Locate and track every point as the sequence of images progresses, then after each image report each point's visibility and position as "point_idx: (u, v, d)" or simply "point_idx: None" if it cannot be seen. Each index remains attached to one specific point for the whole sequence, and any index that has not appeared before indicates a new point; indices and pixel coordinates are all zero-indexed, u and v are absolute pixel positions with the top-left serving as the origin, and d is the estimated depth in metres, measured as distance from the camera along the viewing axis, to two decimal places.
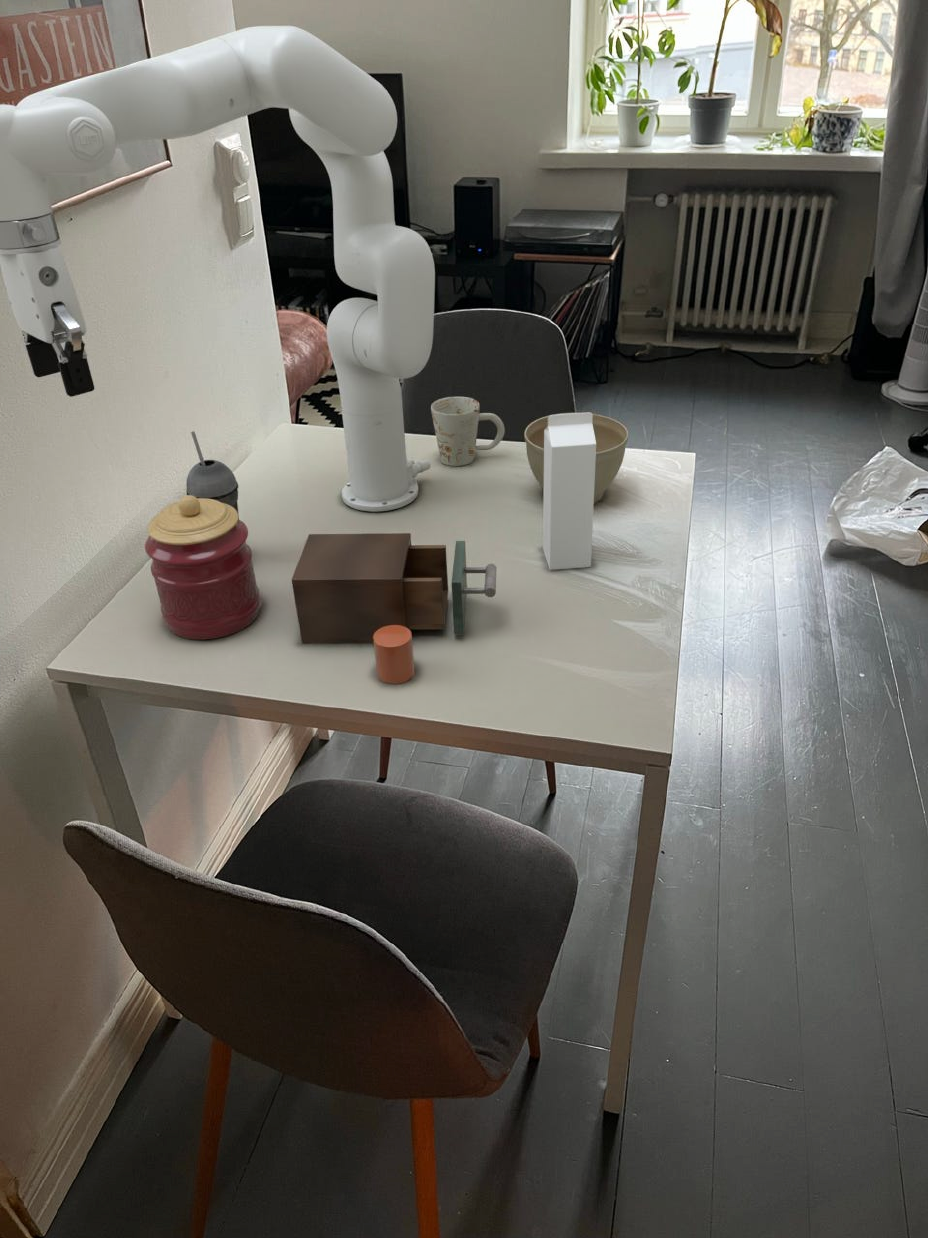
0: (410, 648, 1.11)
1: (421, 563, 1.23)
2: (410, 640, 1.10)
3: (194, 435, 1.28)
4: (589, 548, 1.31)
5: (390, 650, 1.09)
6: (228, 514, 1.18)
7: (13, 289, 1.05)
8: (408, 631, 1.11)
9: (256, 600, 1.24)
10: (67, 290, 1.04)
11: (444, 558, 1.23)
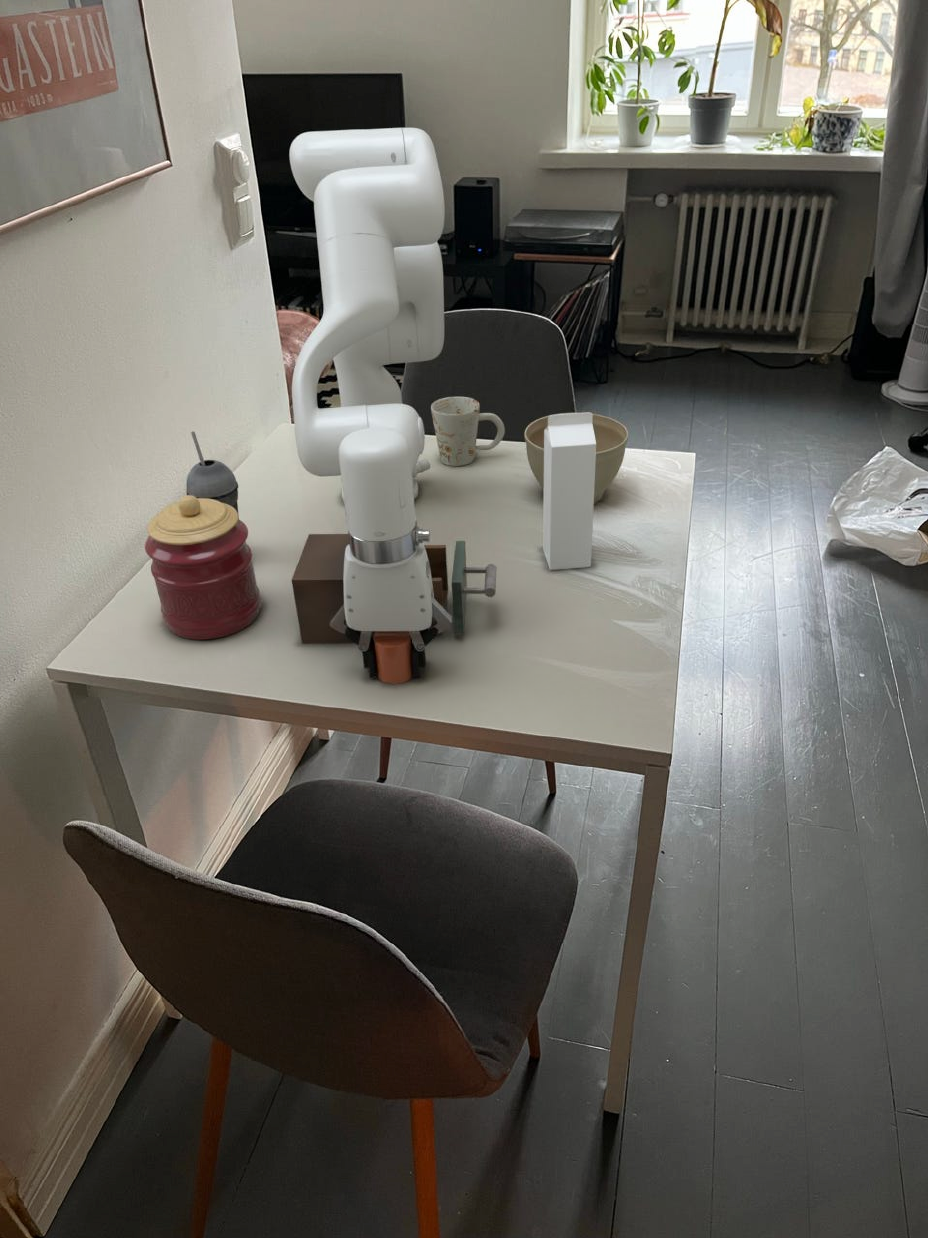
0: (410, 648, 1.11)
1: None
2: (410, 640, 1.10)
3: (194, 435, 1.28)
4: (589, 548, 1.31)
5: (390, 650, 1.09)
6: (228, 514, 1.18)
7: (381, 595, 1.05)
8: (408, 631, 1.11)
9: (256, 600, 1.24)
10: None
11: (444, 558, 1.23)
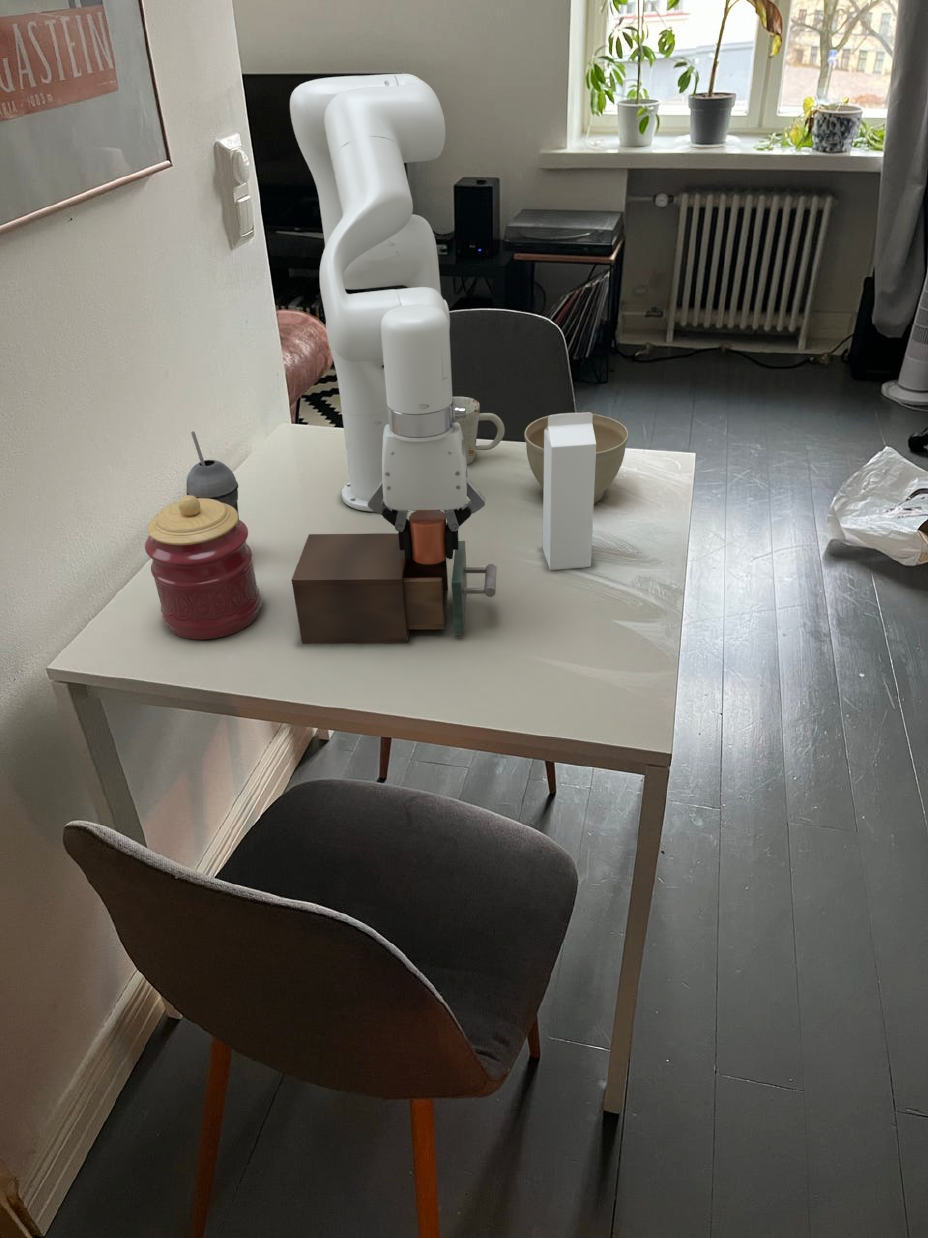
0: (444, 529, 1.15)
1: None
2: (444, 521, 1.15)
3: (194, 435, 1.28)
4: (589, 548, 1.31)
5: (425, 529, 1.14)
6: (228, 514, 1.18)
7: (418, 471, 1.09)
8: (442, 513, 1.16)
9: (256, 600, 1.24)
10: None
11: None
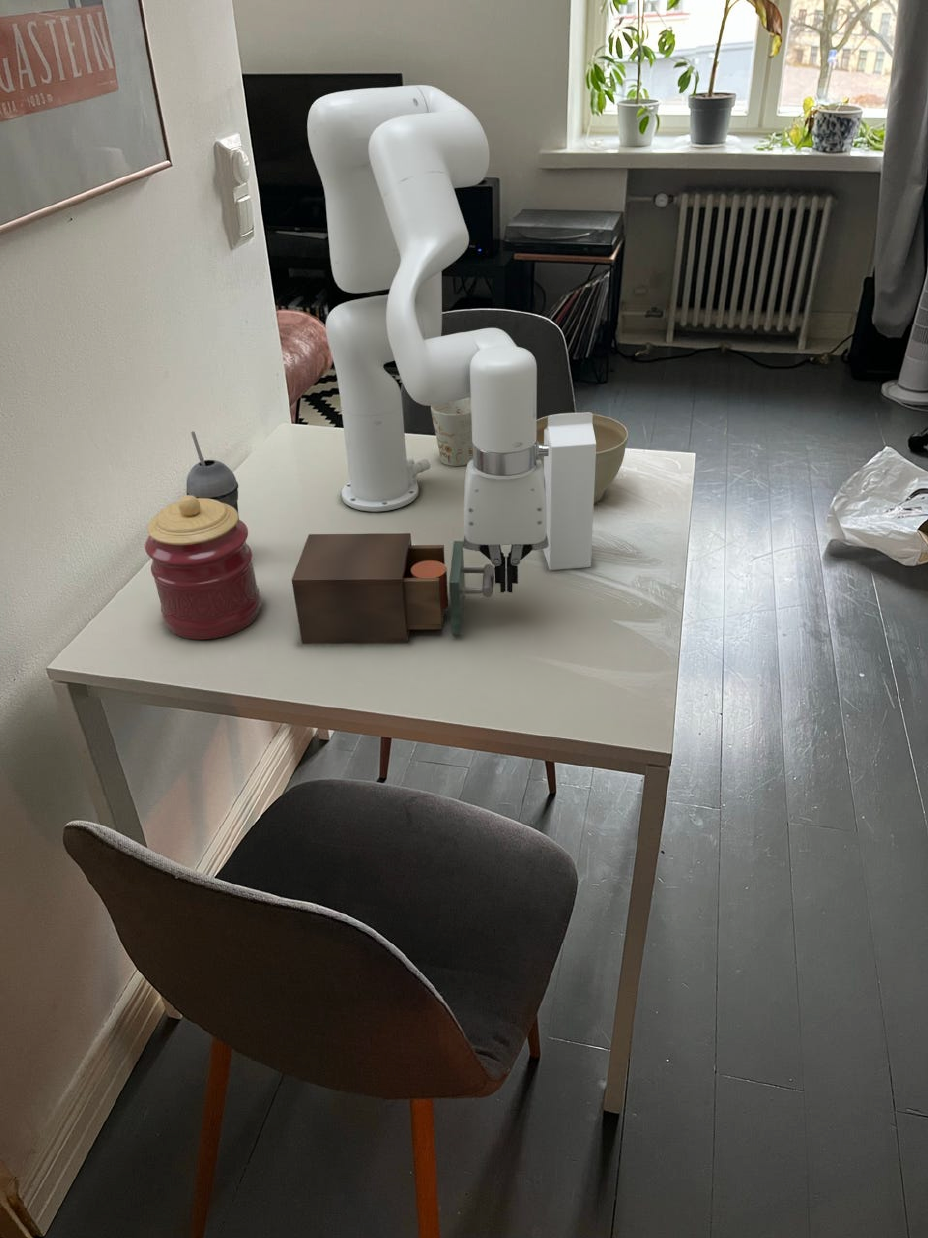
0: (445, 581, 1.19)
1: None
2: (445, 573, 1.19)
3: (194, 435, 1.28)
4: (589, 548, 1.31)
5: None
6: (228, 514, 1.18)
7: (501, 507, 1.11)
8: (443, 565, 1.20)
9: (256, 600, 1.24)
10: None
11: (442, 558, 1.23)
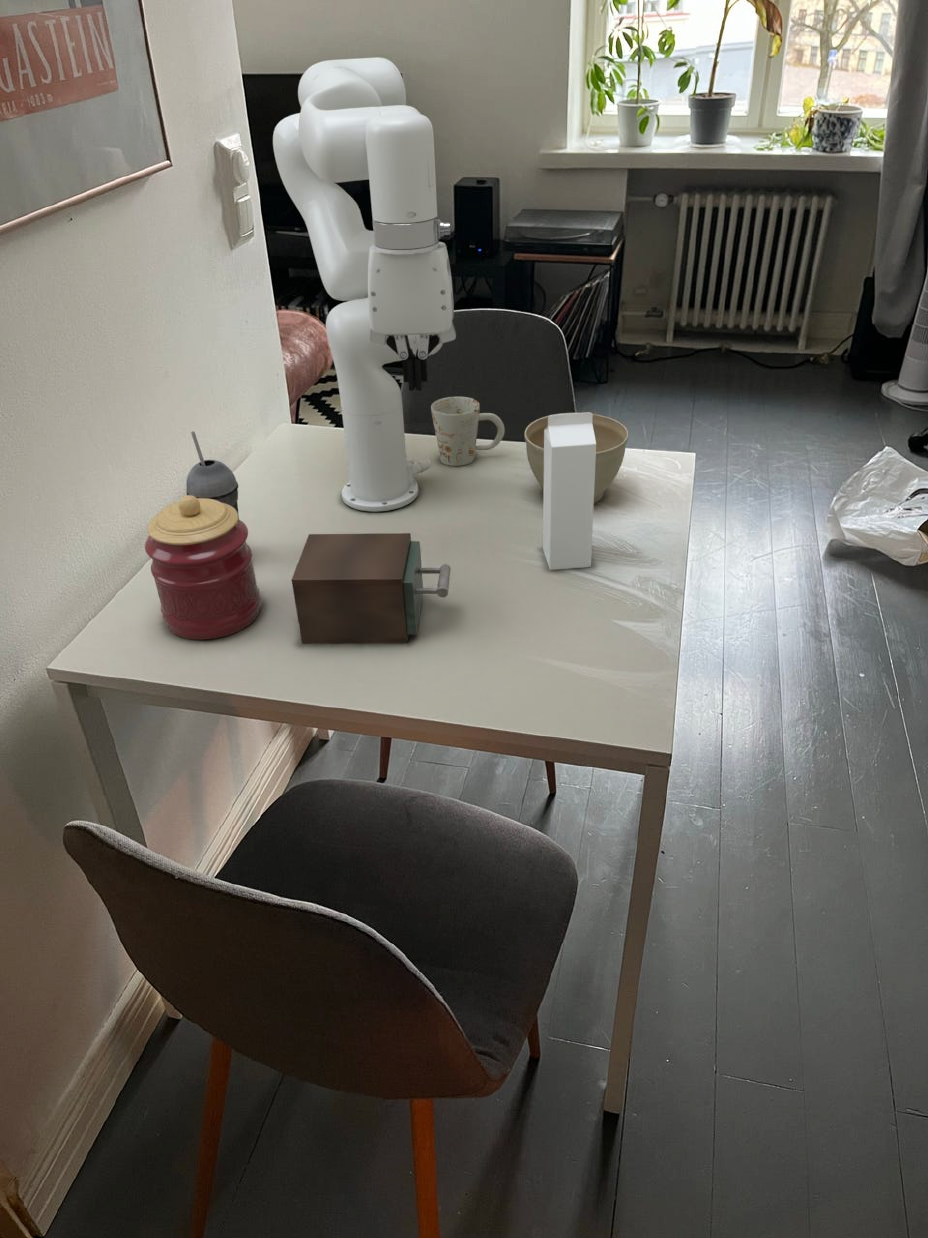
0: None
1: None
2: None
3: (194, 435, 1.28)
4: (589, 548, 1.31)
5: None
6: (228, 514, 1.18)
7: (404, 290, 1.10)
8: None
9: (256, 600, 1.24)
10: (451, 280, 1.13)
11: None
